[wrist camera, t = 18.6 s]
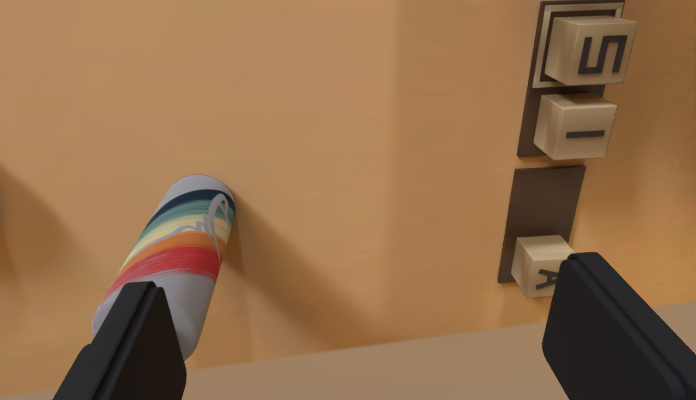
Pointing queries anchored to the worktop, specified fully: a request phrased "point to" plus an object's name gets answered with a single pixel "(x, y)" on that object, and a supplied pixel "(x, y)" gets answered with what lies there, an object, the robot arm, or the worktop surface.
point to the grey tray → (565, 95)
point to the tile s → (590, 49)
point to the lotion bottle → (180, 254)
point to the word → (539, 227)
